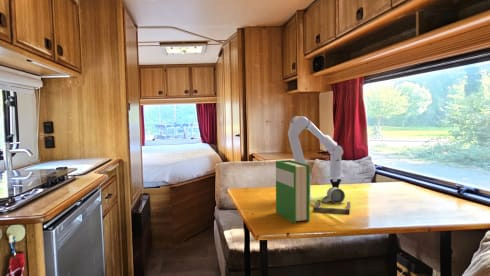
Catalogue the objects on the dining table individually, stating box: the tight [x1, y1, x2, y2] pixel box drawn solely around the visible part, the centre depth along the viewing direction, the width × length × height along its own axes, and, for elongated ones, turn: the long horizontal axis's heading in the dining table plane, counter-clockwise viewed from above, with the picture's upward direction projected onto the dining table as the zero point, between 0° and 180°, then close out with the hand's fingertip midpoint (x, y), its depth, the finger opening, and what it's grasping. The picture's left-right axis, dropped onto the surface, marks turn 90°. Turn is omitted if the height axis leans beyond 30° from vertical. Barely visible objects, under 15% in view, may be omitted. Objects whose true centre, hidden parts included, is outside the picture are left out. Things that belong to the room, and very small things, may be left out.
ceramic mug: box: [321, 187, 346, 205], centre depth 186 cm, size 11×8×8 cm
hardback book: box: [275, 159, 311, 224], centre depth 159 cm, size 18×7×24 cm, turn 20°
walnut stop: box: [313, 199, 351, 215], centre depth 173 cm, size 16×15×2 cm
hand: (335, 192), depth 195 cm, fingers closed
